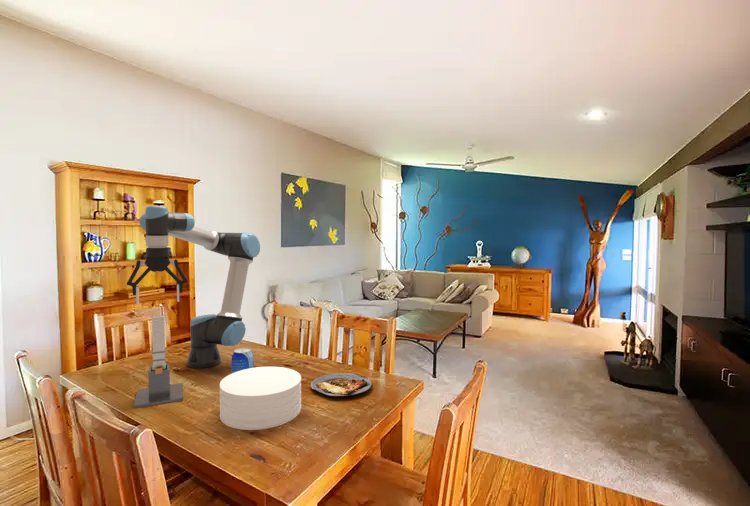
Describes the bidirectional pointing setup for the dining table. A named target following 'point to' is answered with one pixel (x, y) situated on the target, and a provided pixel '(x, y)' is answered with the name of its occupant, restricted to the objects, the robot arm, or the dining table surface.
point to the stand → (159, 389)
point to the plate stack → (260, 397)
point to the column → (158, 342)
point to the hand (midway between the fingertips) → (158, 302)
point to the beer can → (242, 359)
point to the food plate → (341, 384)
